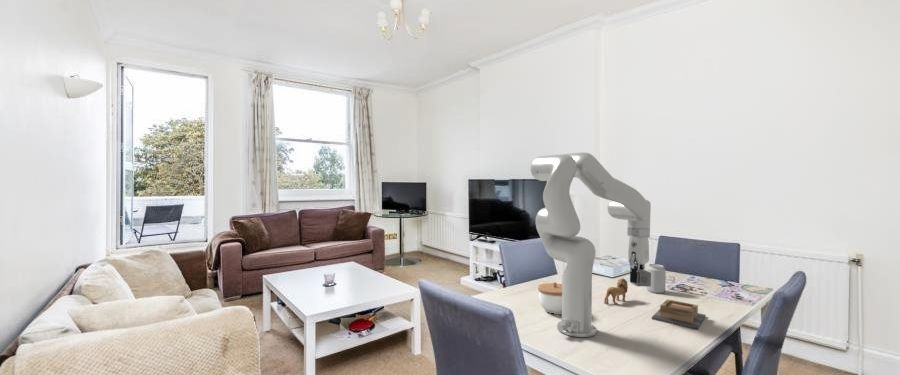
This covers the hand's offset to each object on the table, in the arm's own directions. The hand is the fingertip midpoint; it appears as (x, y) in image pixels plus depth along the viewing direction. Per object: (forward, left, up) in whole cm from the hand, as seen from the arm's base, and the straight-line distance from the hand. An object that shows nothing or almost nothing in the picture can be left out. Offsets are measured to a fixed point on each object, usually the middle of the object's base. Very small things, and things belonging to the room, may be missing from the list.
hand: (637, 280), depth 139 cm
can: (+38, +3, -13) cm, 40 cm away
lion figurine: (+11, +11, -13) cm, 20 cm away
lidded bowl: (-16, +25, -13) cm, 33 cm away
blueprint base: (+8, -12, -13) cm, 19 cm away
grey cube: (0, -1, -1) cm, 2 cm away
